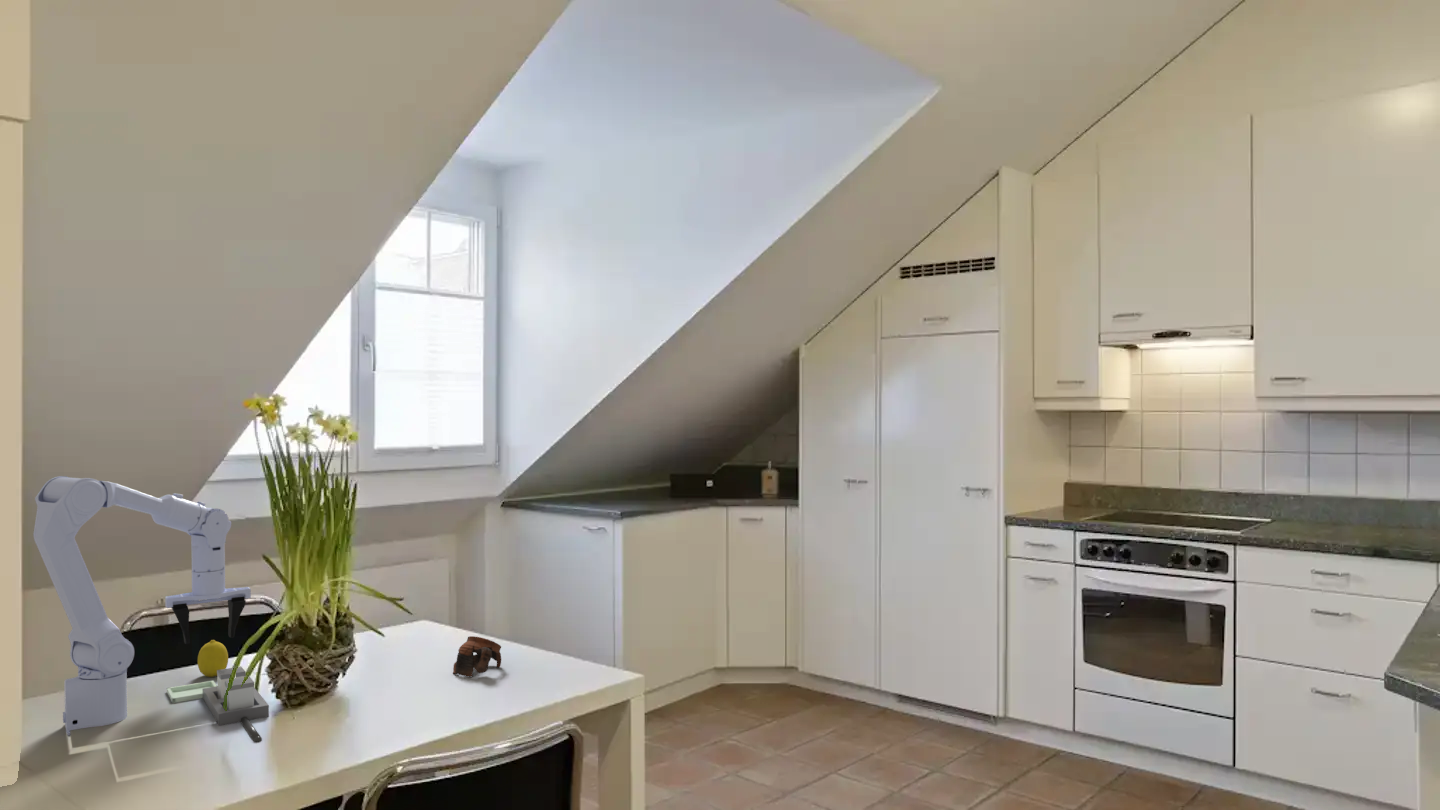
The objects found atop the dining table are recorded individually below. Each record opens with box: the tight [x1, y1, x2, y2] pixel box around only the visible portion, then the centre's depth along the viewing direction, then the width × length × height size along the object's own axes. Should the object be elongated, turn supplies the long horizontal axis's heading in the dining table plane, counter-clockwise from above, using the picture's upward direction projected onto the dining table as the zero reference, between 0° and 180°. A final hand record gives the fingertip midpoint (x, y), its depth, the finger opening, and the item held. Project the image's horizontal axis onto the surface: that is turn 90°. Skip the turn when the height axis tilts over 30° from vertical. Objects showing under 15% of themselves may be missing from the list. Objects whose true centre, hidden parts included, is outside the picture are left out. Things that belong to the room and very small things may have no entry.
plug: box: [216, 666, 246, 699], centre depth 181 cm, size 4×4×6 cm
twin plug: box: [225, 676, 255, 710], centre depth 174 cm, size 4×4×6 cm
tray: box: [166, 680, 218, 704], centre depth 186 cm, size 8×8×2 cm
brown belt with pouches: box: [452, 636, 502, 677], centre depth 202 cm, size 12×10×8 cm
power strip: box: [202, 685, 270, 743], centre depth 173 cm, size 8×31×3 cm, turn 36°
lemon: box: [197, 639, 229, 678], centre depth 198 cm, size 6×6×8 cm
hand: (209, 639), depth 188 cm, fingers open, 7 cm apart
